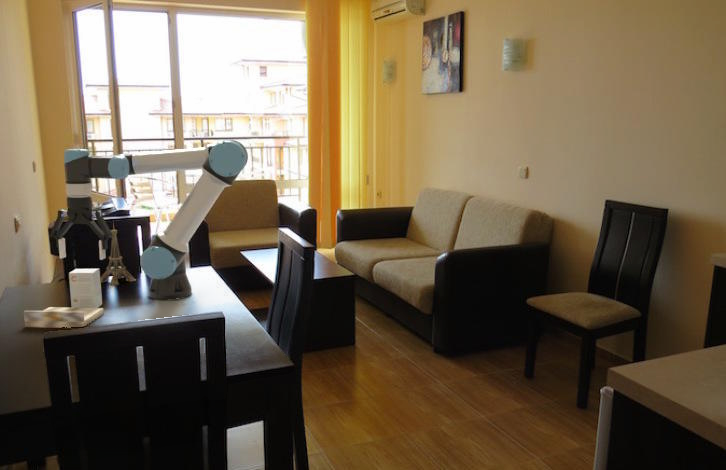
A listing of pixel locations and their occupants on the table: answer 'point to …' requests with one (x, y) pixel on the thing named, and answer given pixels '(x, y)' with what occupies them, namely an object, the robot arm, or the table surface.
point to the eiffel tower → (115, 264)
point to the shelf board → (62, 317)
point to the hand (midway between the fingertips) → (82, 258)
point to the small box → (85, 288)
